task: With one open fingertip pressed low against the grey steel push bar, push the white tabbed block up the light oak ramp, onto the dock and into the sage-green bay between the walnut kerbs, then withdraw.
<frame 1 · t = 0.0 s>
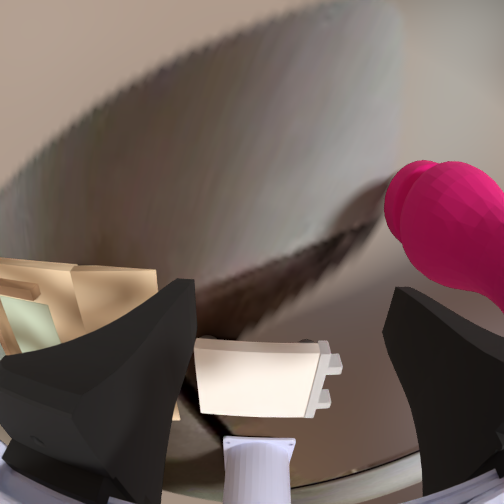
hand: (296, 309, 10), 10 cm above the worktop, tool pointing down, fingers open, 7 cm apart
white tabbed block: (255, 368, 25), on the worktop
dock: (95, 350, 25), on the worktop
pepper mill: (420, 203, 19), on the worktop
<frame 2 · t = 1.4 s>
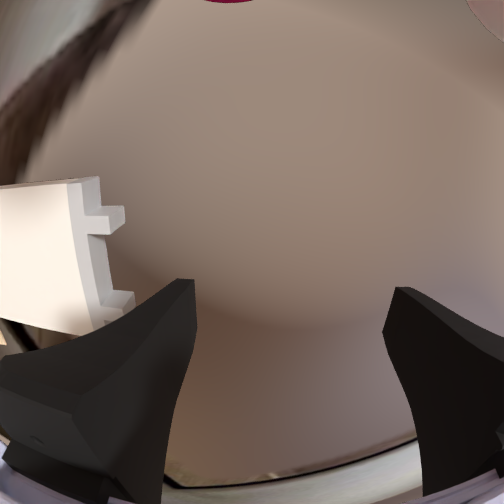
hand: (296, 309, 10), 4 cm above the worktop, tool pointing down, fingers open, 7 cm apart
white tabbed block: (38, 247, 15), on the worktop
foam cup: (493, 0, 8), on the worktop
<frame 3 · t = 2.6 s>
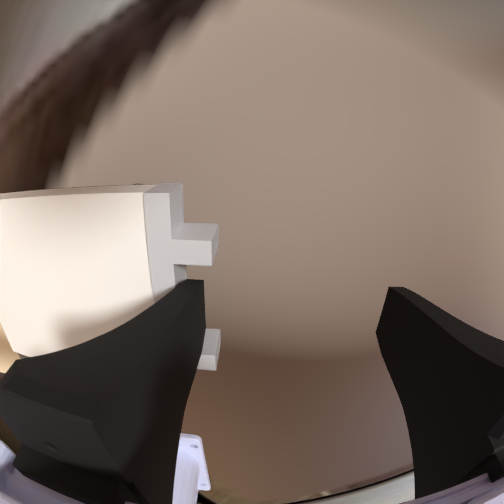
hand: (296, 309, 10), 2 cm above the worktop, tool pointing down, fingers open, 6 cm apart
white tabbed block: (78, 271, 12), on the worktop, touching gripper
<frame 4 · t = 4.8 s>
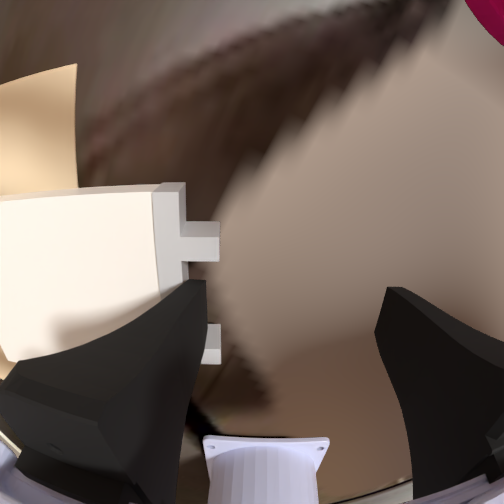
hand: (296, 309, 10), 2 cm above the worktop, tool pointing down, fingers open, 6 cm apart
white tabbed block: (74, 273, 12), on the worktop, tilted 6°, touching gripper
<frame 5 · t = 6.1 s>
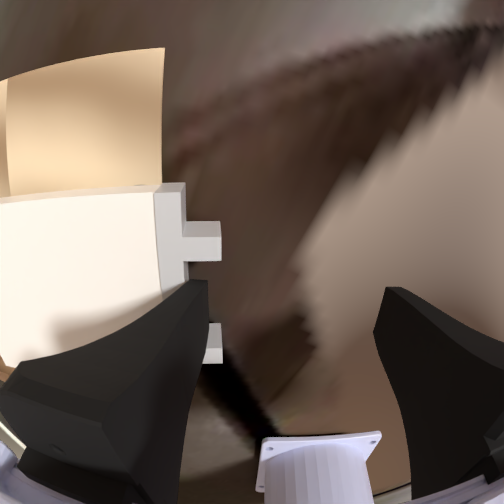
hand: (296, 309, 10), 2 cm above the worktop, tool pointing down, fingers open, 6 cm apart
white tabbed block: (72, 276, 12), point 1 cm above the worktop, tilted 8°, touching dock, gripper
dock: (33, 264, 12), on the worktop
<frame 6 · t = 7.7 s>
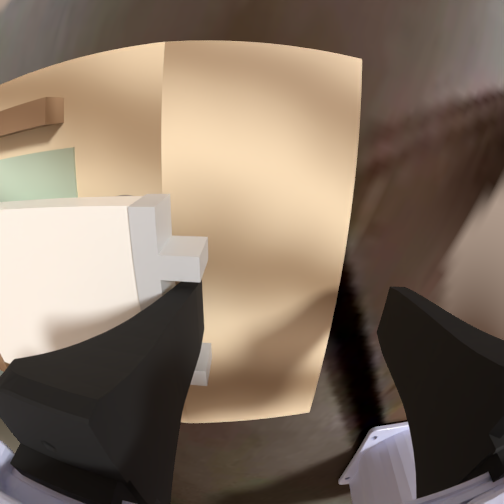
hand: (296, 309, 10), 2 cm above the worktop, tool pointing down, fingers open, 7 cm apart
white tabbed block: (66, 282, 12), point 1 cm above the worktop, touching dock, gripper
dock: (164, 271, 13), on the worktop
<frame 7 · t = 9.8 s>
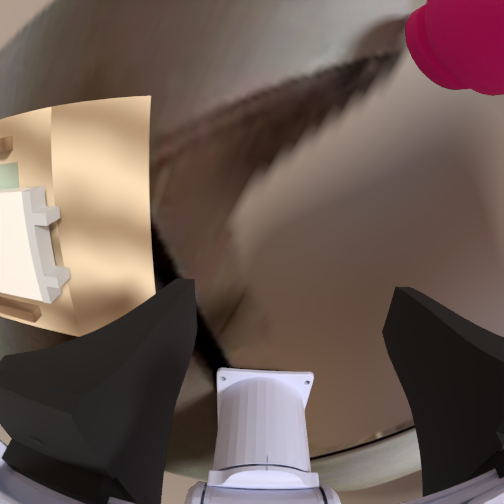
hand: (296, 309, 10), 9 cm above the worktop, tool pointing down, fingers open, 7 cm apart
white tabbed block: (9, 235, 18), point 1 cm above the worktop, touching dock
dock: (62, 229, 20), on the worktop
pepper mill: (441, 48, 14), on the worktop
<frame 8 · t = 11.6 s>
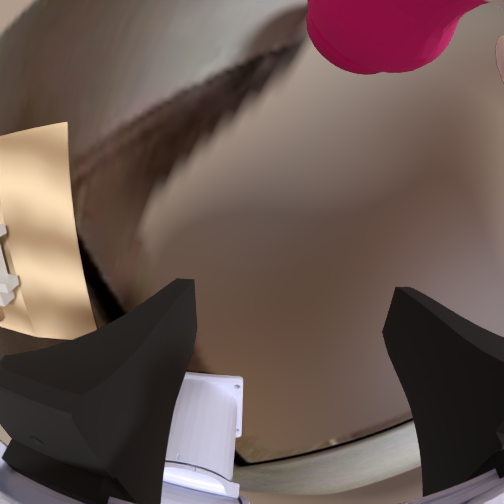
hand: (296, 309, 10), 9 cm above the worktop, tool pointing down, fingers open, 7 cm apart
dock: (14, 241, 20), on the worktop
pepper mill: (355, 30, 14), on the worktop
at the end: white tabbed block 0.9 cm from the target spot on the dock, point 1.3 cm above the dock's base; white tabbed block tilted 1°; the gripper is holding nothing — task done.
